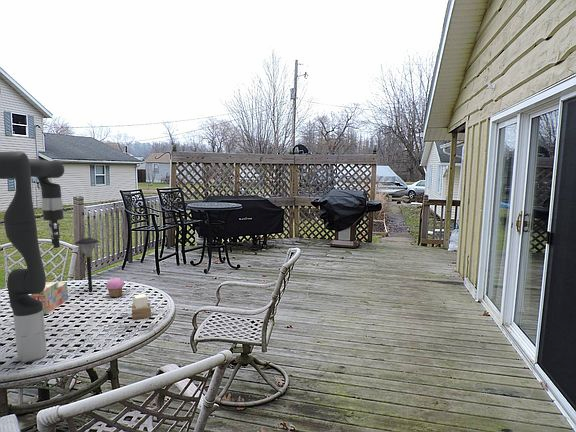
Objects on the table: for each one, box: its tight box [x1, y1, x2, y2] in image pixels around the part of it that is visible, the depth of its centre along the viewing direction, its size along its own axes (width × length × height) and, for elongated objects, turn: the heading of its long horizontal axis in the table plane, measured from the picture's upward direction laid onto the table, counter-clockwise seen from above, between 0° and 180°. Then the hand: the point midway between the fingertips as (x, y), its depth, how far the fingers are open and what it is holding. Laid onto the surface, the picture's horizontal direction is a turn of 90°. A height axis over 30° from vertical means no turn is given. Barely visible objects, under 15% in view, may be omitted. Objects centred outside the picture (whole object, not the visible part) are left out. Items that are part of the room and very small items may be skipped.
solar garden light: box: [74, 237, 100, 293], centre depth 221 cm, size 12×12×30 cm
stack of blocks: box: [30, 281, 69, 315], centre depth 199 cm, size 21×6×12 cm, turn 3°
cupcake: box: [105, 277, 125, 298], centre depth 214 cm, size 9×9×10 cm
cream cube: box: [133, 293, 149, 309], centre depth 186 cm, size 5×5×5 cm
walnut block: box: [131, 301, 152, 321], centre depth 187 cm, size 8×8×5 cm
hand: (55, 245), depth 171 cm, fingers open, 8 cm apart
